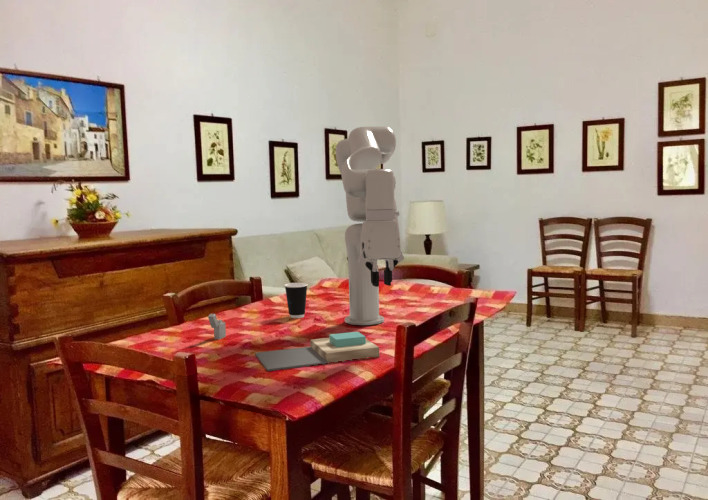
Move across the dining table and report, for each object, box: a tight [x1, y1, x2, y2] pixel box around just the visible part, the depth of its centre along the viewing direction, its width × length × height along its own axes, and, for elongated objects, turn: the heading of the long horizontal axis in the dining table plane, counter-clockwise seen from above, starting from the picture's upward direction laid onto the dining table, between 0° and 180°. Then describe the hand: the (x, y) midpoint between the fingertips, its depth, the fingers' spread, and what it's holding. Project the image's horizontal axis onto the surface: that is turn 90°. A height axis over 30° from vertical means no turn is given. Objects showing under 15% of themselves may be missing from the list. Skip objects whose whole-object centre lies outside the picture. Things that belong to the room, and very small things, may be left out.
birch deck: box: [310, 337, 380, 364], centre depth 161 cm, size 15×14×2 cm
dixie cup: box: [283, 282, 309, 319], centre depth 207 cm, size 8×8×11 cm
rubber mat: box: [254, 346, 329, 372], centre depth 156 cm, size 16×15×1 cm
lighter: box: [207, 313, 227, 341], centre depth 179 cm, size 7×2×8 cm, turn 164°
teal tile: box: [328, 331, 367, 347], centre depth 161 cm, size 6×8×2 cm
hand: (381, 284), depth 163 cm, fingers open, 2 cm apart
